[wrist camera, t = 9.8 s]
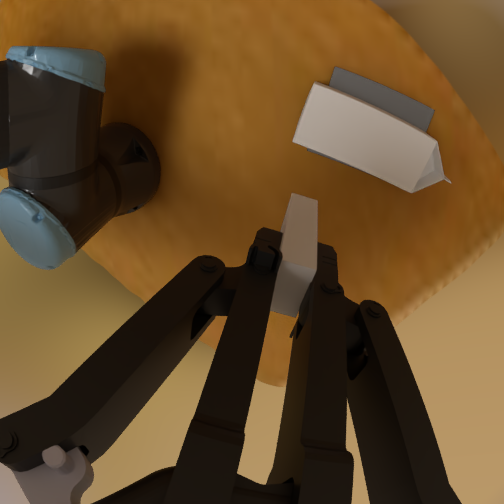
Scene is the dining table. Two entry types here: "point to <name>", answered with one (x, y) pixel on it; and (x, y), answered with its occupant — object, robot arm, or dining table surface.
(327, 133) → the milk carton
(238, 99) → the dining table surface
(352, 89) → the mat
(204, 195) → the dining table surface
